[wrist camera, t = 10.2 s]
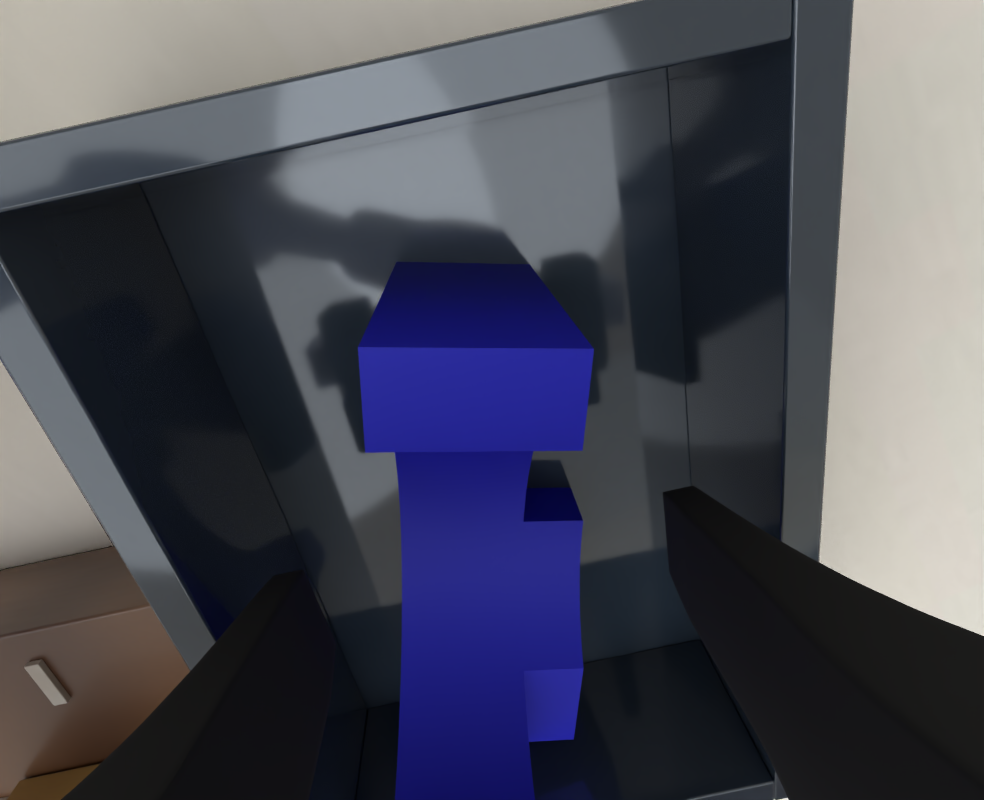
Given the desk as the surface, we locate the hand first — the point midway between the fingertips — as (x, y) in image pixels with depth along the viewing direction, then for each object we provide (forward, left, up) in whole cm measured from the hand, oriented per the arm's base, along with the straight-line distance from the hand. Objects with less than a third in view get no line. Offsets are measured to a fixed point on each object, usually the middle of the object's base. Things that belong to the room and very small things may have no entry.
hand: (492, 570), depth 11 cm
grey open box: (0, 0, -5) cm, 5 cm away
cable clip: (0, -1, -4) cm, 4 cm away
